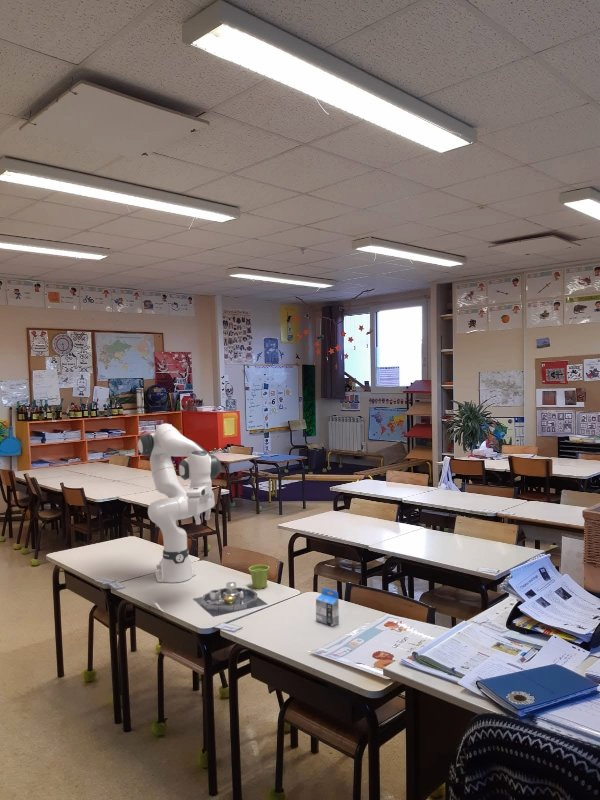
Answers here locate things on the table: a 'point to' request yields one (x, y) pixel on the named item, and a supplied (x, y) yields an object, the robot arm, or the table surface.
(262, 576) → the plant pot
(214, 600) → the planet gear
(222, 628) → the table surface
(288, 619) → the table surface
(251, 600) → the carrier
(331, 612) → the label tape box
